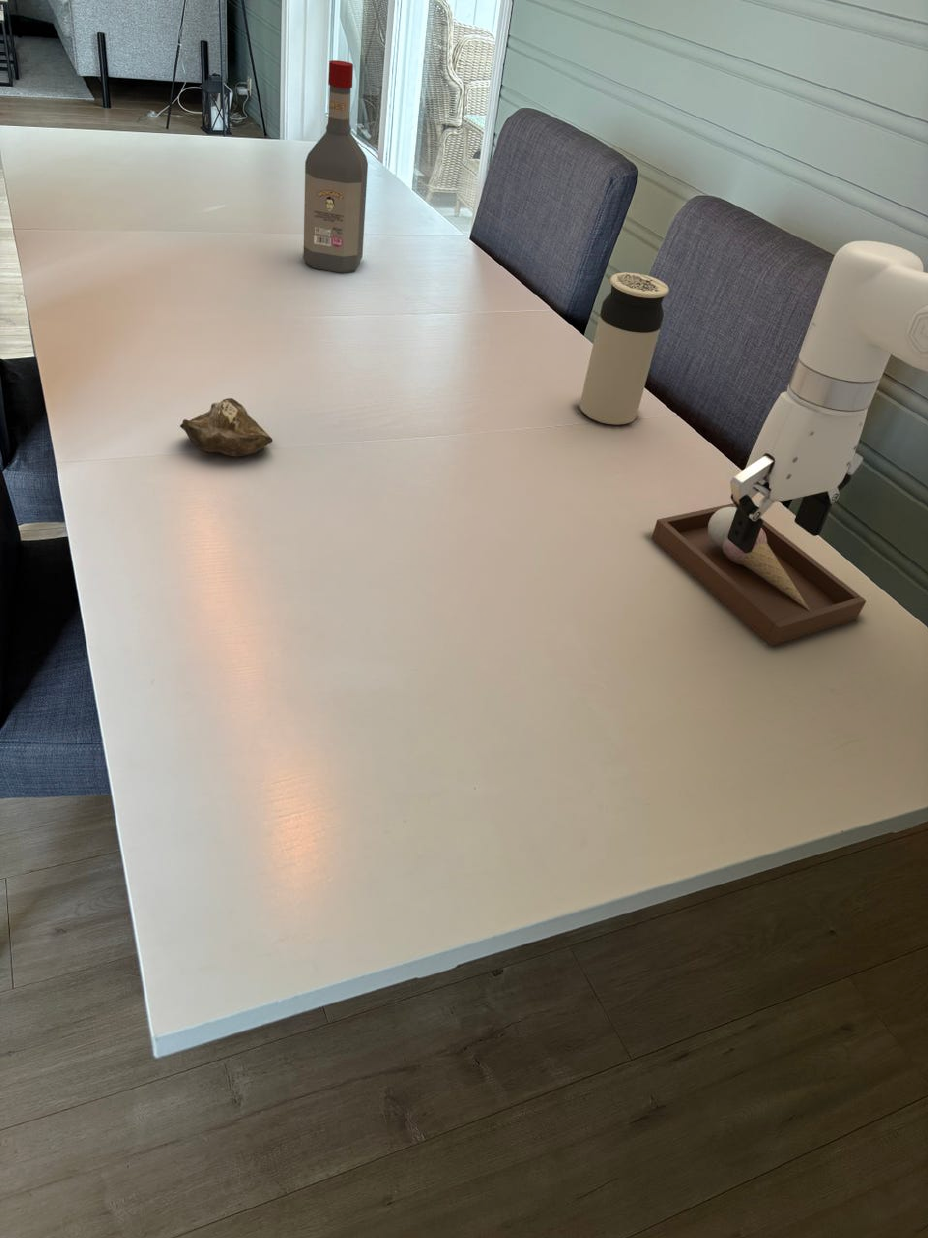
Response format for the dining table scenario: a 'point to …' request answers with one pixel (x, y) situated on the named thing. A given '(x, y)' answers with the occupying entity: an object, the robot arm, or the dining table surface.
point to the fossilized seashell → (226, 430)
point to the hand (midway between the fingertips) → (773, 537)
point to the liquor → (335, 185)
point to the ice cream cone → (752, 554)
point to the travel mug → (623, 348)
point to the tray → (760, 580)
